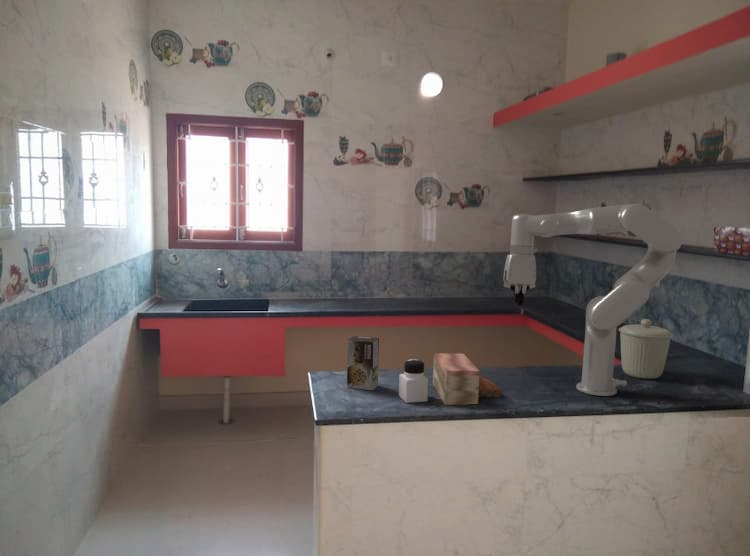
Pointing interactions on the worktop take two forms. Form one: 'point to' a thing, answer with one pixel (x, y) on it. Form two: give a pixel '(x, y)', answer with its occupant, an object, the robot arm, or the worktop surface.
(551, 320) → the worktop surface
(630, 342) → the canister
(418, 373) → the medicine bottle
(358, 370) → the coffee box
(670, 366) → the worktop surface
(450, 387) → the overhang bay
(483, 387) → the ceramic shard
